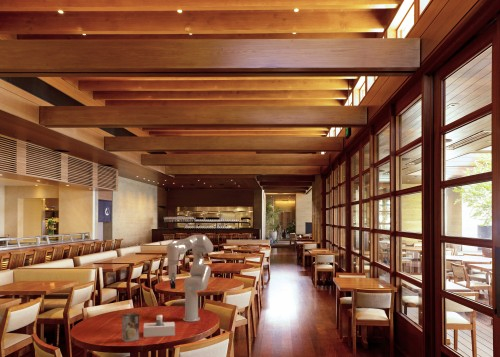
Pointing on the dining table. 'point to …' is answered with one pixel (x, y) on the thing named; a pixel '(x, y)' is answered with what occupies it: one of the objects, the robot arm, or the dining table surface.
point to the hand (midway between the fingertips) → (172, 287)
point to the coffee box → (130, 327)
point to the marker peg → (159, 320)
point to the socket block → (159, 329)
